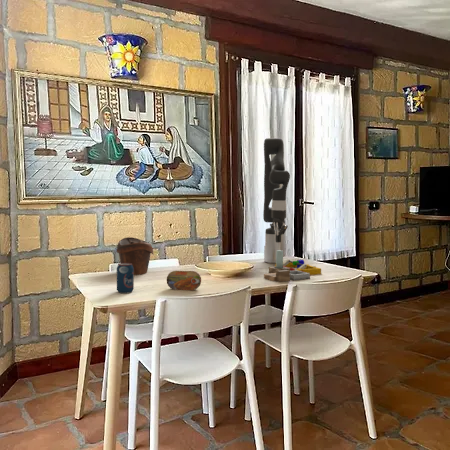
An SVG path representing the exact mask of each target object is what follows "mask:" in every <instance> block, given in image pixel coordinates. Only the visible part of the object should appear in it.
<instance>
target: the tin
mask: <svg viewBox="0 0 450 450" xmlns="http://www.w3.org/2000/svg"><path fill="white" fill-rule="evenodd" d="M201 283H202V277H201V275H200V274H199V273H198V271H195V270H173V271H170V272H169V273H168V274H167V276H166V284H167V286H168V288H170V289H171V290H174V291H192V292H193V291H196V290H197V289H198V288H199V287H200V286H201Z"/></svg>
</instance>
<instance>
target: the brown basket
mask: <svg viewBox="0 0 450 450" xmlns="http://www.w3.org/2000/svg"><path fill="white" fill-rule="evenodd" d="M116 253H117V254H118V257H119V261H120V262H119V263H132V266H133V268H134V276H135V275H136V276H137V275H145V274H147V273H148V271H149V266H150V265H149V264H150V260H151V255H153V256H154V249H153V246H152V244H151V243H149V242H147V241H145V240H143V239H140V238H136V237H130V236H129V237H124V238H121V239H120V240H119V241H118V243H117V246H116Z"/></svg>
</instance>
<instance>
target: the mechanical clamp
mask: <svg viewBox="0 0 450 450" xmlns="http://www.w3.org/2000/svg"><path fill="white" fill-rule="evenodd" d="M274 264H275V265H274V267H276V263H274ZM283 267H287V268H290V271H295V270H298V271H302V272H306V273H310V276H313V275H322V268H320V267H317V266H316V265H310V264H306V263H305V261H304V260H303V259H297V260H290V259H286V260H285V261H283Z"/></svg>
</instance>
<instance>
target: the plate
mask: <svg viewBox="0 0 450 450" xmlns="http://www.w3.org/2000/svg"><path fill="white" fill-rule="evenodd" d="M263 279H265V280H269V281H272V282H277V281H276V273H264V274H263Z"/></svg>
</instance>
